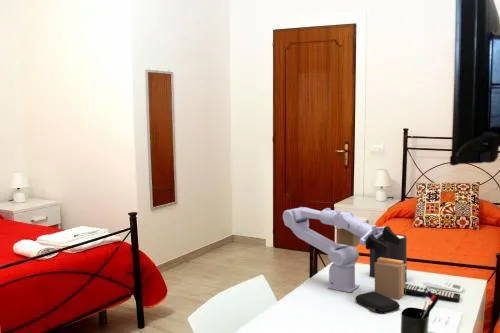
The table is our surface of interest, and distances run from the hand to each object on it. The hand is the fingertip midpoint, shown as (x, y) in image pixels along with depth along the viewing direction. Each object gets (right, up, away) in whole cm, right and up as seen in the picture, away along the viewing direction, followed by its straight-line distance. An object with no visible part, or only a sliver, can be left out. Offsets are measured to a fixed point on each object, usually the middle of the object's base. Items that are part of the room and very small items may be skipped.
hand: (393, 245), depth 180 cm
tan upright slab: (+2, -19, +10) cm, 22 cm away
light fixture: (+7, -18, +28) cm, 34 cm away
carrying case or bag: (-6, -21, -1) cm, 22 cm away
